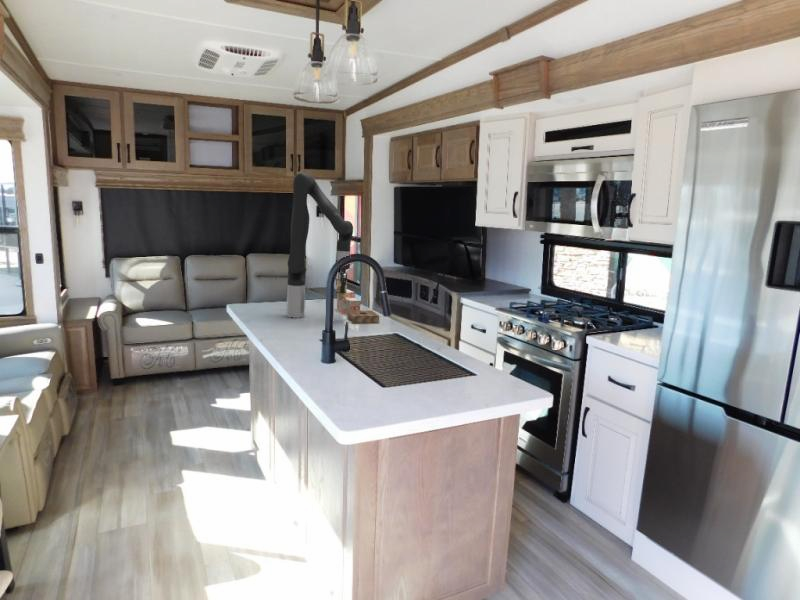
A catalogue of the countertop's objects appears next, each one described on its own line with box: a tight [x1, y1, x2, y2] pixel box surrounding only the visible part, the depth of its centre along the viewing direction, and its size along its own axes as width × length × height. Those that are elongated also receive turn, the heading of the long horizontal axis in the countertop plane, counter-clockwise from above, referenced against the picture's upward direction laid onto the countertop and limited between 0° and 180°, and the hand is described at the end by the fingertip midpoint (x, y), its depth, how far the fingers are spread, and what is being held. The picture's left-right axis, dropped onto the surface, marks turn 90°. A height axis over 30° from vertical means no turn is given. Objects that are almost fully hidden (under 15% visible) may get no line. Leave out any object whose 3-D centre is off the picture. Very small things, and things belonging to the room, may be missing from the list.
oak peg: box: [335, 279, 348, 300], centre depth 286 cm, size 5×5×10 cm
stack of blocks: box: [336, 288, 361, 316], centre depth 309 cm, size 21×6×12 cm, turn 25°
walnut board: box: [346, 310, 380, 325], centre depth 292 cm, size 14×14×4 cm
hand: (341, 291), depth 286 cm, fingers closed on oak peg, 5 cm apart
